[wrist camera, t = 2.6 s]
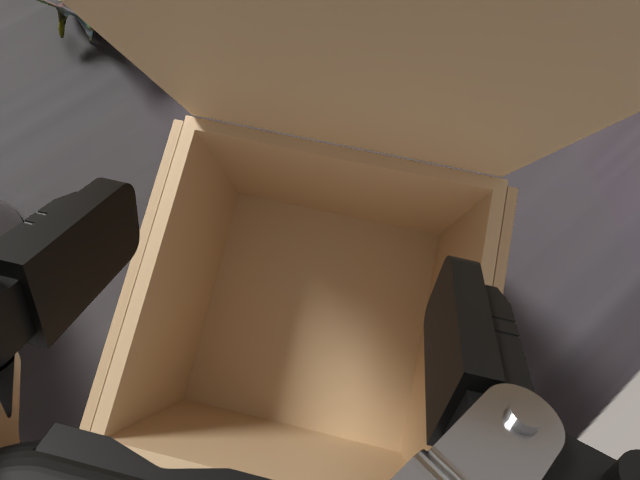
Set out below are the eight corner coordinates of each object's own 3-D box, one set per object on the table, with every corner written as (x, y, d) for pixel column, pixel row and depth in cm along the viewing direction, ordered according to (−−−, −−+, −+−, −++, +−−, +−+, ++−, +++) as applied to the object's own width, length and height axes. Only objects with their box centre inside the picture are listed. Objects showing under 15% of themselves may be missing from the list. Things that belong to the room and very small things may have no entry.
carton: (413, 472, 36) (463, 563, 22) (165, 410, 37) (69, 460, 24) (454, 231, 40) (519, 182, 26) (228, 184, 41) (176, 113, 27)
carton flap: (977, -49, 6) (988, -103, 6) (-207, -231, 8) (-196, -275, 8) (501, 176, 26) (504, 163, 26) (192, 114, 27) (195, 102, 27)
